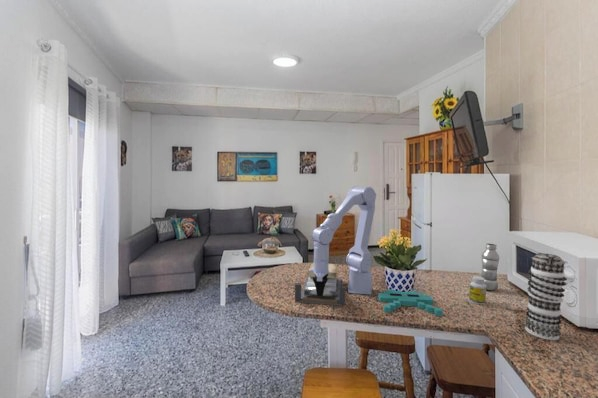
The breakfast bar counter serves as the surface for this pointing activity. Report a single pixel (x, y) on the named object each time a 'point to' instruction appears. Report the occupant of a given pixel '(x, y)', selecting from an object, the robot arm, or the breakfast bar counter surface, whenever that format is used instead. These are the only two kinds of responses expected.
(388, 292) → the alien figure
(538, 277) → the decorative candle
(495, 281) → the plastic bottle
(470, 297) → the supplement bottle
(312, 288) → the loose roller
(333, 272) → the slab
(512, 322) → the breakfast bar counter surface
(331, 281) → the roller bed
